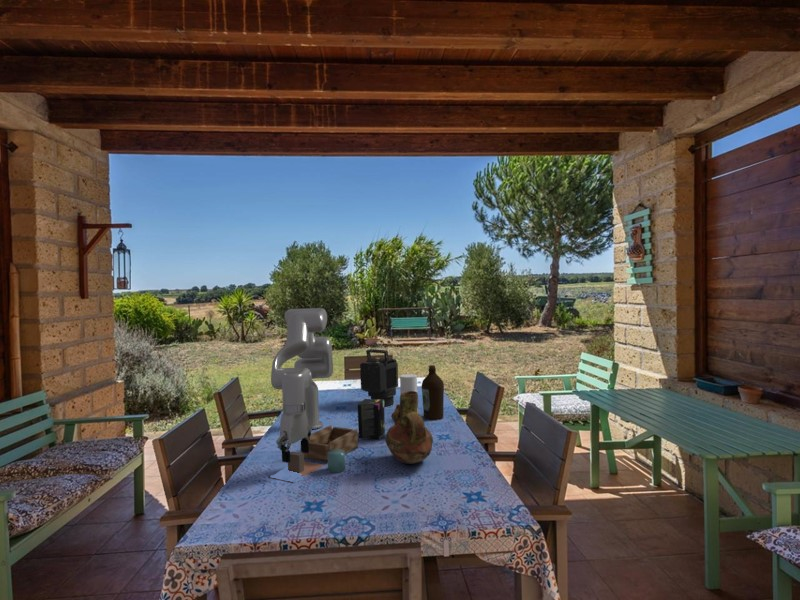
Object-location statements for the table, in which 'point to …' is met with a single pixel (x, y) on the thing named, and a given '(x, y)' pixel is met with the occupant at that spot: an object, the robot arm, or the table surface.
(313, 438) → the box
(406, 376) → the cylindrical container
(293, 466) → the brown piece
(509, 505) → the table surface
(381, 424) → the tampon box
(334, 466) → the teal rounded piece
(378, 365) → the lantern
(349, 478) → the table surface
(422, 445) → the ceramic vessel
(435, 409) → the dark brown bottle
